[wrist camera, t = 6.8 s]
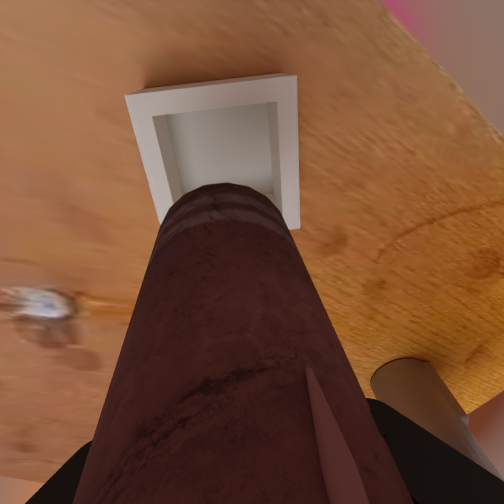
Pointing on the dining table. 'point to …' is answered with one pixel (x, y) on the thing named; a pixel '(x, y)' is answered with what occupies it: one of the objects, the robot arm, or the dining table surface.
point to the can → (234, 375)
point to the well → (221, 138)
